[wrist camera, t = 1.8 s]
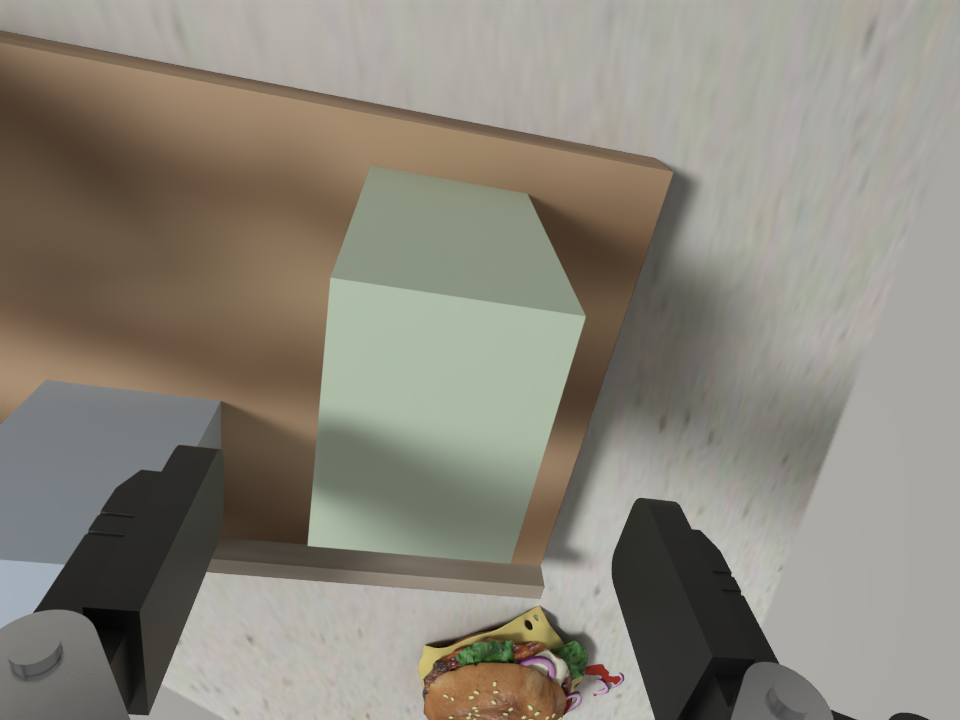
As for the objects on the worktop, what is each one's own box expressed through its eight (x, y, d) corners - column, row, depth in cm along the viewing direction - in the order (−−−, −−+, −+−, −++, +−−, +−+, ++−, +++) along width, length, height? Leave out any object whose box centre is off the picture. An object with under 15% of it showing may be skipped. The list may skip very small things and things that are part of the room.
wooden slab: (-43, 22, 19) (-126, 27, 16) (654, 158, 22) (686, 181, 19) (45, 504, 28) (3, 560, 25) (529, 549, 31) (538, 603, 28)
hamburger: (471, 753, 41) (478, 863, 36) (360, 630, 34) (347, 744, 29) (679, 684, 39) (717, 792, 33) (603, 538, 32) (636, 644, 27)
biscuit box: (45, 379, 23) (-126, 549, 16) (220, 400, 23) (132, 570, 17) (66, 508, 26) (-70, 699, 19) (221, 522, 26) (147, 709, 20)
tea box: (349, 359, 23) (307, 545, 15) (370, 165, 20) (330, 277, 12) (488, 377, 24) (516, 564, 16) (531, 194, 20) (593, 317, 13)
